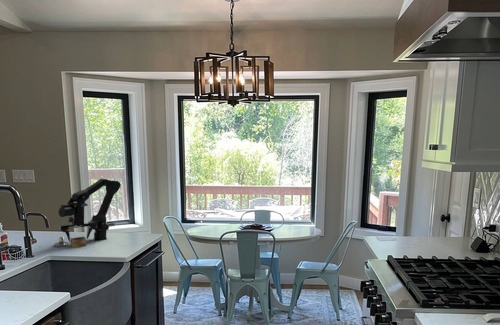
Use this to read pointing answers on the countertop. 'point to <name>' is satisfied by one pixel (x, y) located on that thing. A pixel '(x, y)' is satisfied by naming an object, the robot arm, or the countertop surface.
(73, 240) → the wooden square frame
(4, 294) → the countertop surface
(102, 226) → the robot arm
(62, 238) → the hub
